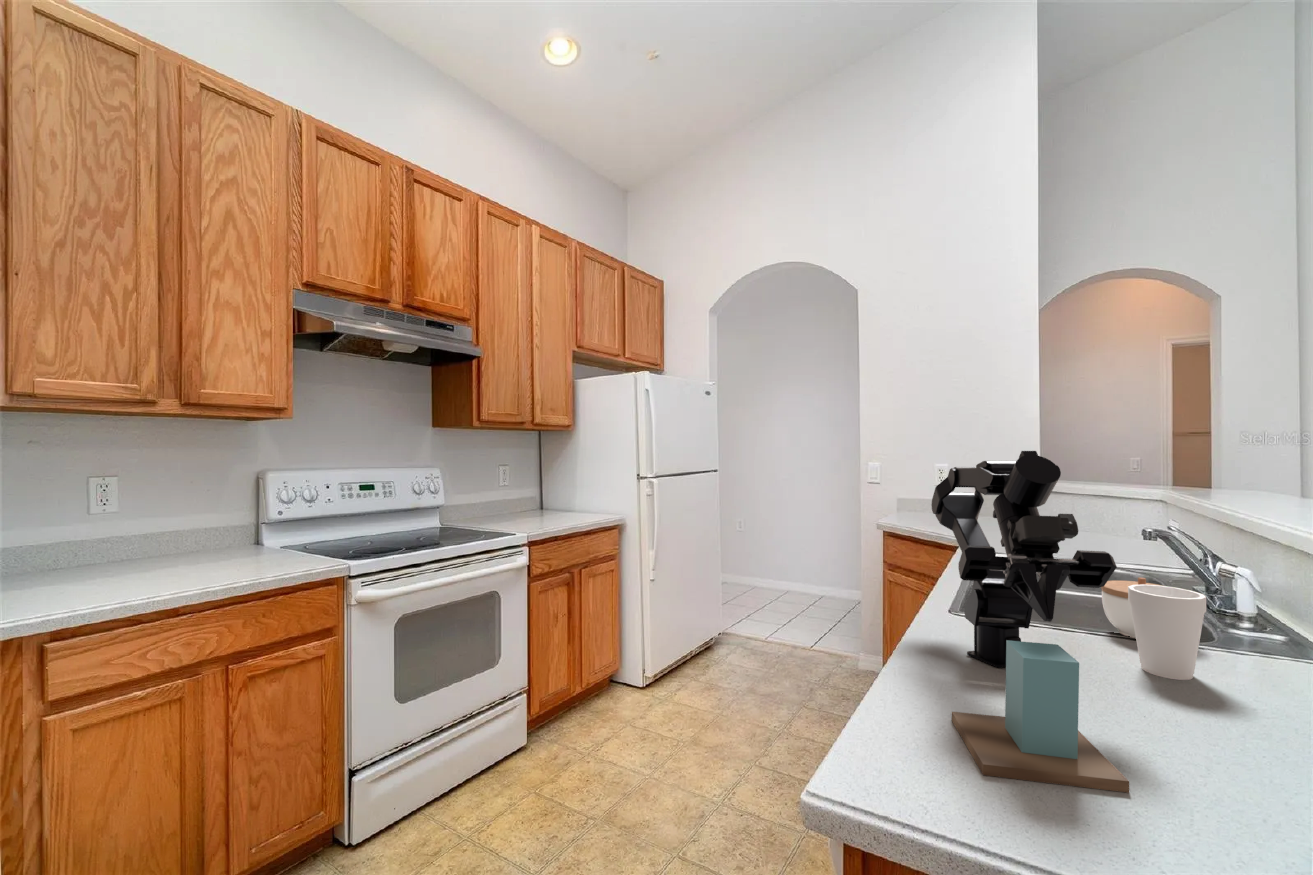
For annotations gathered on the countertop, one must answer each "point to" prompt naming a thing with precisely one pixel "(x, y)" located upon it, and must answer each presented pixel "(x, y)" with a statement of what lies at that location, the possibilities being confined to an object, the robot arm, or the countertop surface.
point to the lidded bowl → (1120, 604)
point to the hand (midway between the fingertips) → (1048, 620)
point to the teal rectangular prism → (1042, 699)
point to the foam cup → (1167, 628)
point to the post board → (1033, 757)
